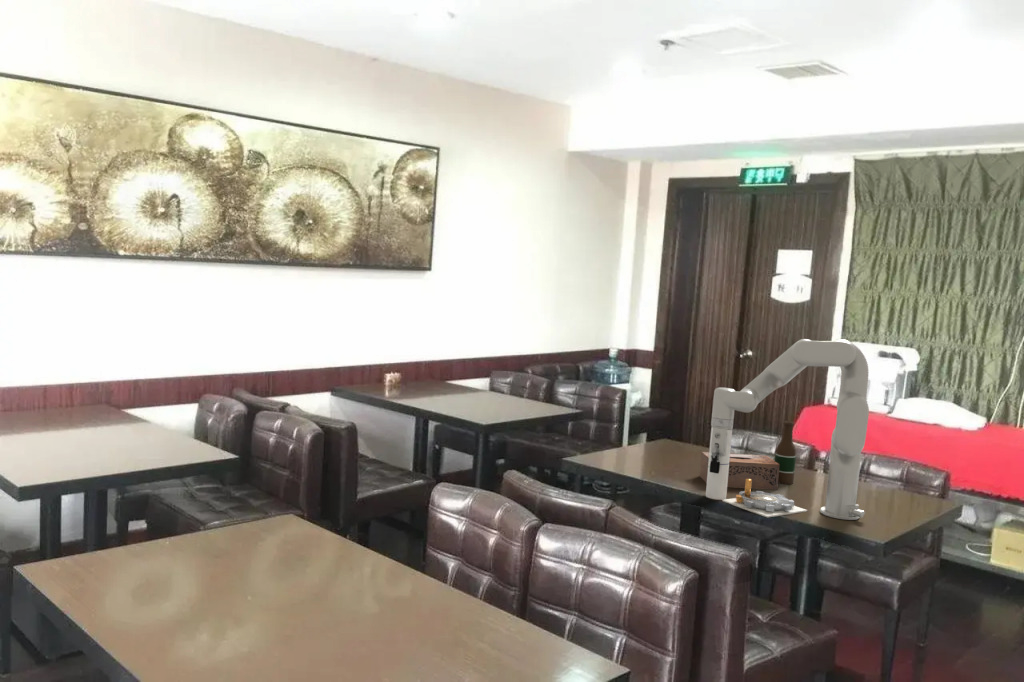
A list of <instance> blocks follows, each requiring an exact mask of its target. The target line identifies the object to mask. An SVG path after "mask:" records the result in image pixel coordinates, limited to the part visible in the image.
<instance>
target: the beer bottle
mask: <svg viewBox="0 0 1024 682" xmlns="http://www.w3.org/2000/svg"><path fill="white" fill-rule="evenodd" d="M783 425H784V426H783V432H782V436H781V437H782V438H781V441H780V442H779V443H778V445H777V446H776V449H775V454H774V461H775V462H777V463H778V464H780V466H779V477H778V484H781V485H792V484H793V483H794V479H795V471H796V469H795V468H796V462H797V449H796V446H795V445H794V442H793V435H794V434H793V429H794V428H793V427H794V422H793V421H790V420H785V421H784V422H783Z"/></svg>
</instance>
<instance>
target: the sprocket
mask: <svg viewBox="0 0 1024 682" xmlns="http://www.w3.org/2000/svg"><path fill="white" fill-rule="evenodd" d="M751 483H752V480H751V479H746V483H745V488H744V490H741V491H739V493H738V494H735V498H736V501H737V502H742V503H743V504H745V506H746V507H749V508H753V507H754V508H758V509H763V510H766V511H773V512H774V511H779V510H784V511H790V510H791V507H794V506H795V500H793V499H788V498H787V497H785V495H783V494H779V493H777V494H775V493H770V492H765V491H761V490H756V491H751V490H752V488H751Z"/></svg>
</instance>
